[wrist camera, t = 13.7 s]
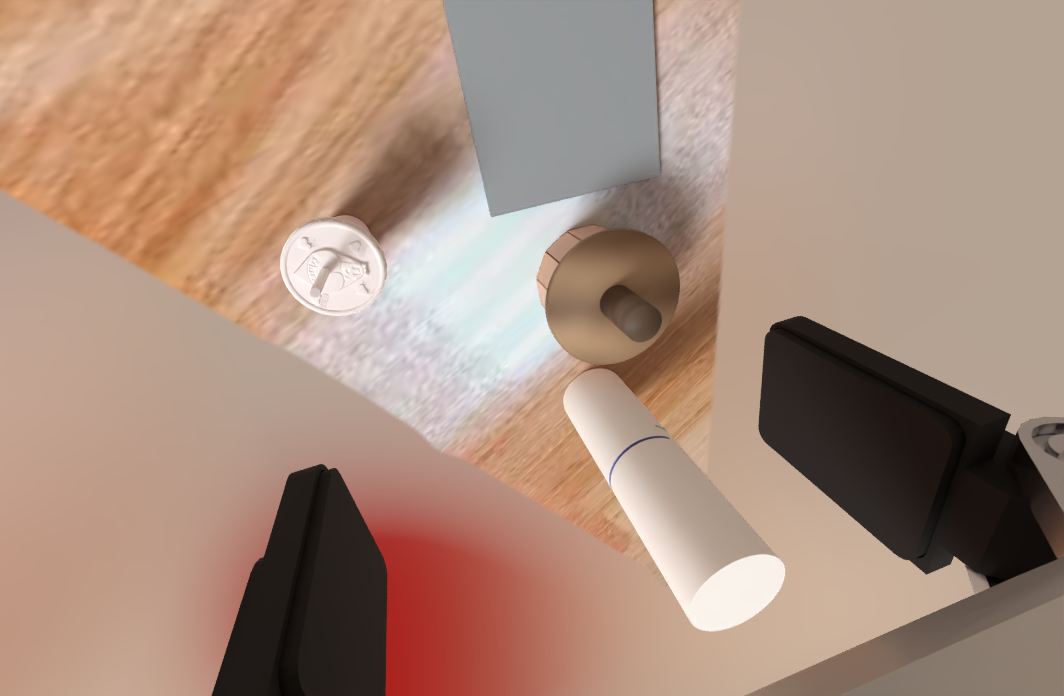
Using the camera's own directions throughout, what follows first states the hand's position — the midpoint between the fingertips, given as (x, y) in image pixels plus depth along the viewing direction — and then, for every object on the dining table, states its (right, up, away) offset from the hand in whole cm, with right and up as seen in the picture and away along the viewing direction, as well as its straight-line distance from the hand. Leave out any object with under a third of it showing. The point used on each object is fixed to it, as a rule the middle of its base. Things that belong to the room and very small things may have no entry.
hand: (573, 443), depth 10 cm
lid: (+6, +6, +30) cm, 31 cm away
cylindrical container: (+6, -3, +42) cm, 43 cm away
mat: (+2, +23, +28) cm, 36 cm away
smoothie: (-16, +11, +28) cm, 34 cm away
